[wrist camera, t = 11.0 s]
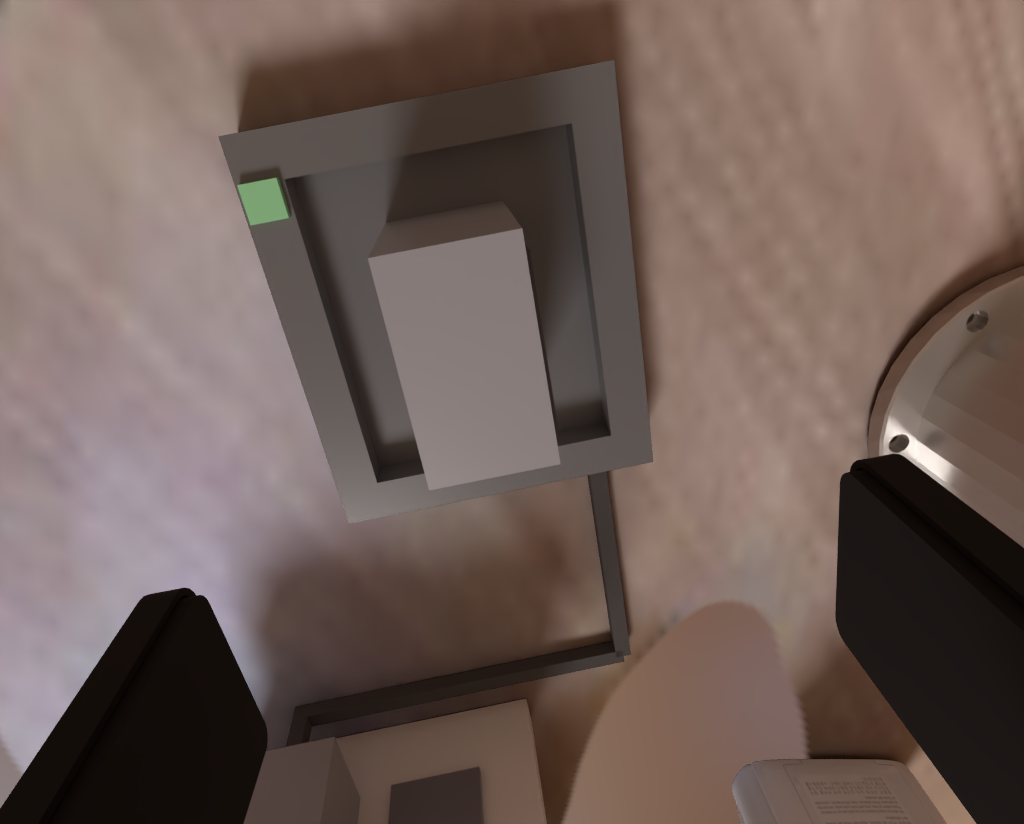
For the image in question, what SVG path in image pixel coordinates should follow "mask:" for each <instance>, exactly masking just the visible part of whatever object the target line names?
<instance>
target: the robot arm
mask: <svg viewBox="0 0 1024 824" xmlns="http://www.w3.org/2000/svg"><path fill="white" fill-rule="evenodd" d="M867 444H868V454H869V458H868V459H862V460H857V461H856V462H854V463H853V464H852V466H851V469H850V472H848V473H845V474H843V475H842V477H841V481H840V501H839V530H838V559H837V588H836V623H837V627H838V630H839V633H840V635H841V637H842V639H843V641H844V643H845V644H846V645H847V647H848V648H849V650H850V651H851V652H852V654H853V655H854V656H855V658H856V659H857V661H858V662H859V663H860V665H861V666H862V667H863V669H864V670H865V671H866V673H867V674H868V676H869V677H870V678H871V680H872V681H873V682H874V684H875V685H876V687H877V688H878V689H879V691H880V692H881V693H882V695H883V696H884V697H885V699H886V700H887V702H888V703H889V704H890V706H891V707H892V708H893V710H894V711H895V713H896V714H897V715H898V717H899V718H900V719H901V721H902V722H903V723H904V725H905V726H906V728H907V729H908V730H909V732H910V733H911V734H912V736H913V737H914V738H915V740H916V741H917V743H918V744H919V745H920V747H921V748H922V749H923V751H924V752H925V754H926V755H927V756H928V758H929V759H930V760H931V762H932V763H933V764H934V766H935V767H936V769H937V770H938V771H939V773H940V774H941V775H942V777H943V778H944V780H945V781H946V782H947V784H948V785H949V786H950V788H951V789H952V790H953V792H954V793H955V795H956V796H957V797H958V799H959V800H960V801H961V803H962V804H963V806H964V807H965V808H966V810H967V811H968V812H969V814H970V815H971V816H972V818H973V819H974V821H975V822H976V823H977V824H1024V266H1022V267H1018V268H1015V269H1013V270H1010V271H1008V272H1005V273H1003V274H1000V275H997V276H995V277H992V278H990V279H988V280H986V281H984V282H982V283H981V284H979V285H977V286H975V287H974V288H972V289H970V290H968V291H967V292H965V293H963V294H961V295H960V296H958V297H957V298H956V299H955V300H953V301H952V302H951V303H949V304H948V305H947V306H946V307H944V308H943V309H942V310H941V311H939V312H938V313H937V314H935V315H934V316H933V317H932V318H931V319H930V320H929V321H928V322H927V323H926V324H925V325H924V326H923V327H922V328H921V329H920V331H919V332H918V333H917V334H916V335H915V336H914V337H913V338H912V339H911V340H910V341H909V343H908V344H907V345H906V347H905V348H904V350H903V351H902V352H901V354H900V355H899V357H898V358H897V359H896V361H895V362H894V364H893V365H892V367H891V369H890V371H889V373H888V375H887V376H886V378H885V380H884V382H883V384H882V386H881V388H880V390H879V392H878V395H877V399H876V402H875V405H874V408H873V412H872V415H871V418H870V425H869V434H868V443H867ZM267 740H268V738H267V728H266V725H265V722H264V720H263V717H262V715H261V713H260V711H259V709H258V707H257V705H256V702H255V700H254V698H253V696H252V694H251V692H250V689H249V687H248V685H247V683H246V681H245V679H244V677H243V674H242V672H241V670H240V668H239V666H238V664H237V662H236V659H235V657H234V655H233V653H232V651H231V649H230V647H229V644H228V642H227V640H226V638H225V636H224V634H223V631H222V629H221V627H220V625H219V623H218V621H217V619H216V616H215V614H214V612H213V610H212V608H211V606H210V604H209V602H208V600H207V599H206V598H205V597H204V596H202V595H198V596H196V595H195V593H194V592H193V591H192V590H191V589H189V588H180V589H175V590H170V591H165V592H159V593H154V594H149V595H146V596H144V597H143V598H142V599H141V600H140V601H139V602H138V604H137V605H136V607H135V608H134V610H133V611H132V613H131V614H130V616H129V617H128V619H127V620H126V622H125V623H124V625H123V626H122V627H121V629H120V630H119V632H118V633H117V635H116V636H115V638H114V639H113V641H112V642H111V644H110V645H109V647H108V648H107V650H106V651H105V653H104V654H103V656H102V657H101V659H100V660H99V662H98V663H97V665H96V666H95V668H94V669H93V671H92V672H91V674H90V675H89V677H88V678H87V680H86V681H85V683H84V684H83V686H82V687H81V689H80V690H79V692H78V693H77V695H76V696H75V698H74V699H73V701H72V702H71V704H70V705H69V707H68V708H67V710H66V711H65V713H64V714H63V716H62V717H61V719H60V720H59V722H58V723H57V725H56V726H55V728H54V729H53V731H52V732H51V734H50V735H49V737H48V738H47V740H46V741H45V743H44V744H43V746H42V747H41V749H40V750H39V752H38V753H37V755H36V756H35V758H34V759H33V761H32V762H31V764H30V765H29V767H28V768H27V770H26V771H25V773H24V774H23V776H22V777H21V779H20V780H19V782H18V783H17V785H16V786H15V788H14V789H13V791H12V792H11V794H10V795H9V797H8V798H7V800H6V801H5V802H4V804H3V805H2V807H1V808H0V824H244V821H245V817H246V814H247V811H248V808H249V804H250V801H251V798H252V795H253V792H254V788H255V785H256V782H257V779H258V775H259V772H260V769H261V766H262V762H263V759H264V756H265V753H266V748H267Z"/></svg>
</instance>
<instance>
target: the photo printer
mask: <svg viewBox="0 0 1024 824" xmlns="http://www.w3.org/2000/svg"><path fill="white" fill-rule="evenodd" d="M732 791H733V795H734V797H735V800H736V802H737V810H738V813H739V816H740V819H741V822H742V824H947V823H946V821H945V820H944V819H943V817H942V816H941V814H940V813H939V811H938V810H937V808H936V807H935V805H934V804H933V802H932V801H931V800H930V798H929V797H928V795H927V794H926V793H925V791H924V790H923V788H922V787H921V785H920V784H919V782H918V781H917V780H916V778H915V777H914V775H913V774H912V773H911V771H910V770H909V769H908V768H907V767H906V766H905V765H904V764H902V763H900V762H897V761H891V760H878V759H783V760H782V759H778V760H764V761H757V762H753V763H752V764H749V765H746V766H745V767H743V768H742V769H741V770H740V772H739V773H738V774H737V775H736V777H735V779H734V782H733V787H732Z"/></svg>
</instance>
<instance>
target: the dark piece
mask: <svg viewBox="0 0 1024 824" xmlns="http://www.w3.org/2000/svg"><path fill="white" fill-rule="evenodd" d="M588 481H589V488H590V495H591V502H592V508H593V515H594V522H595V529H596V536H597V542H598V549H599V556H600V563H601V570H602V576H603V583H604V590H605V597H606V604H607V610H608V617H609V624H610V631H611V638H612V641H611V642H606V643H602V644H597V645H592V646H587V647H582V648H578V649H573V650H568V651H563V652H558V653H554V654H549V655H544V656H539V657H534V658H530V659H525V660H520V661H515V662H510V663H506V664H501V665H496V666H491V667H486V668H482V669H477V670H472V671H467V672H462V673H458V674H453V675H448V676H443V677H438V678H434V679H429V680H424V681H419V682H414V683H410V684H405V685H400V686H395V687H390V688H386V689H381V690H376V691H371V692H366V693H362V694H357V695H352V696H347V697H342V698H338V699H333V700H328V701H323V702H318V703H314V704H309V705H304V706H299V707H296V708H295V712H294V716H293V720H292V724H291V728H290V732H289V736H288V740H287V744H286V747H288V746H293V745H297V744H302V743H307V742H309V737H310V733H311V728H312V726H317V725H322V724H327V723H332V722H336V721H341V720H346V719H351V718H355V717H360V716H365V715H370V714H375V713H379V712H384V711H389V710H394V709H399V708H403V707H408V706H413V705H418V704H422V703H427V702H432V701H437V700H442V699H446V698H451V697H456V696H461V695H466V694H470V693H475V692H480V691H485V690H489V689H494V688H499V687H504V686H509V685H513V684H518V683H523V682H528V681H533V680H537V679H542V678H547V677H552V676H557V675H561V674H566V673H571V672H576V671H580V670H585V669H590V668H595V667H600V666H604V665H609V664H614V663H619V662H624V656H626V655H630V654H631V653H630V645H629V638H628V630H627V623H626V615H625V608H624V600H623V593H622V585H621V578H620V570H619V562H618V555H617V547H616V540H615V532H614V525H613V517H612V510H611V502H610V495H609V487H608V480H607V472H606V471H605V472H601V473H596V474H591V475H588Z"/></svg>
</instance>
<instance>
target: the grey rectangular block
mask: <svg viewBox="0 0 1024 824" xmlns="http://www.w3.org/2000/svg"><path fill="white" fill-rule="evenodd" d="M368 261H369V265H370V269H371V273H372V276H373V280H374V284H375V288H376V291H377V295H378V299H379V303H380V307H381V310H382V314H383V318H384V322H385V325H386V329H387V333H388V337H389V341H390V344H391V348H392V352H393V356H394V359H395V363H396V367H397V371H398V375H399V378H400V382H401V386H402V390H403V393H404V397H405V401H406V405H407V409H408V412H409V416H410V420H411V424H412V428H413V431H414V435H415V439H416V443H417V446H418V450H419V454H420V458H421V462H422V465H423V469H424V473H425V477H426V480H427V484H428V488H429V490H434V489H439V488H444V487H449V486H454V485H459V484H464V483H469V482H474V481H479V480H484V479H489V478H494V477H499V476H504V475H509V474H514V473H519V472H524V471H529V470H534V469H539V468H544V467H549V466H554V465H559V464H560V457H559V451H558V445H557V439H556V436H558V435H559V429H558V423H557V416H556V410H555V404H554V398H553V391H552V385H551V379H550V373H549V366H548V360H547V354H546V348H545V341H544V335H543V329H542V323H541V316H540V310H539V304H538V297H537V291H536V285H535V279H534V272H533V266H532V260H531V254H530V250H529V248H528V247H527V245H526V244H525V242H524V236H523V229H522V227H521V226H520V224H519V223H518V221H517V220H516V219H515V217H514V216H513V214H512V213H511V212H510V210H509V209H508V207H507V206H506V205H505V203H504V202H503V200H502V201H496V202H491V203H486V204H481V205H476V206H471V207H465V208H460V209H455V210H450V211H445V212H440V213H434V214H429V215H424V216H419V217H414V218H409V219H403V220H398V221H393V222H388V223H385V225H384V227H383V229H382V231H381V233H380V235H379V237H378V239H377V241H376V243H375V245H374V247H373V249H372V251H371V253H370V255H369V257H368Z"/></svg>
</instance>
